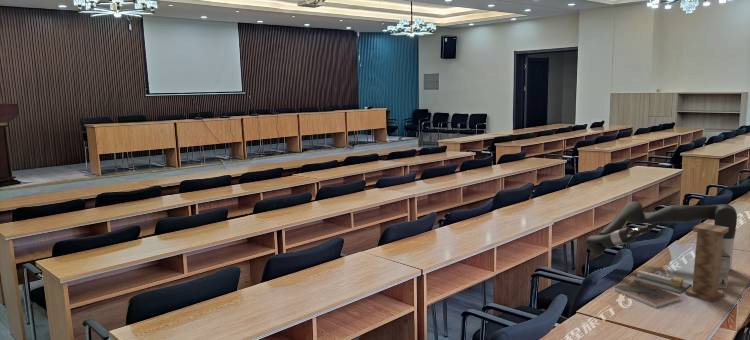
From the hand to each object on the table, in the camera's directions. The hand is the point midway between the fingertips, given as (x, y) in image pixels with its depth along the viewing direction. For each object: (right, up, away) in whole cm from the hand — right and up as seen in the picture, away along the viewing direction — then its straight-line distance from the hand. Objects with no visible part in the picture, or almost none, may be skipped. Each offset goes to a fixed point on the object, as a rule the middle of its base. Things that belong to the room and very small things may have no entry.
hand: (652, 226), depth 260 cm
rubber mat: (+5, -27, 0) cm, 28 cm away
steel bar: (+4, -27, +1) cm, 27 cm away
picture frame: (-9, -31, -12) cm, 35 cm away
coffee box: (+29, -27, -3) cm, 40 cm away
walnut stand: (+17, -30, -14) cm, 37 cm away
